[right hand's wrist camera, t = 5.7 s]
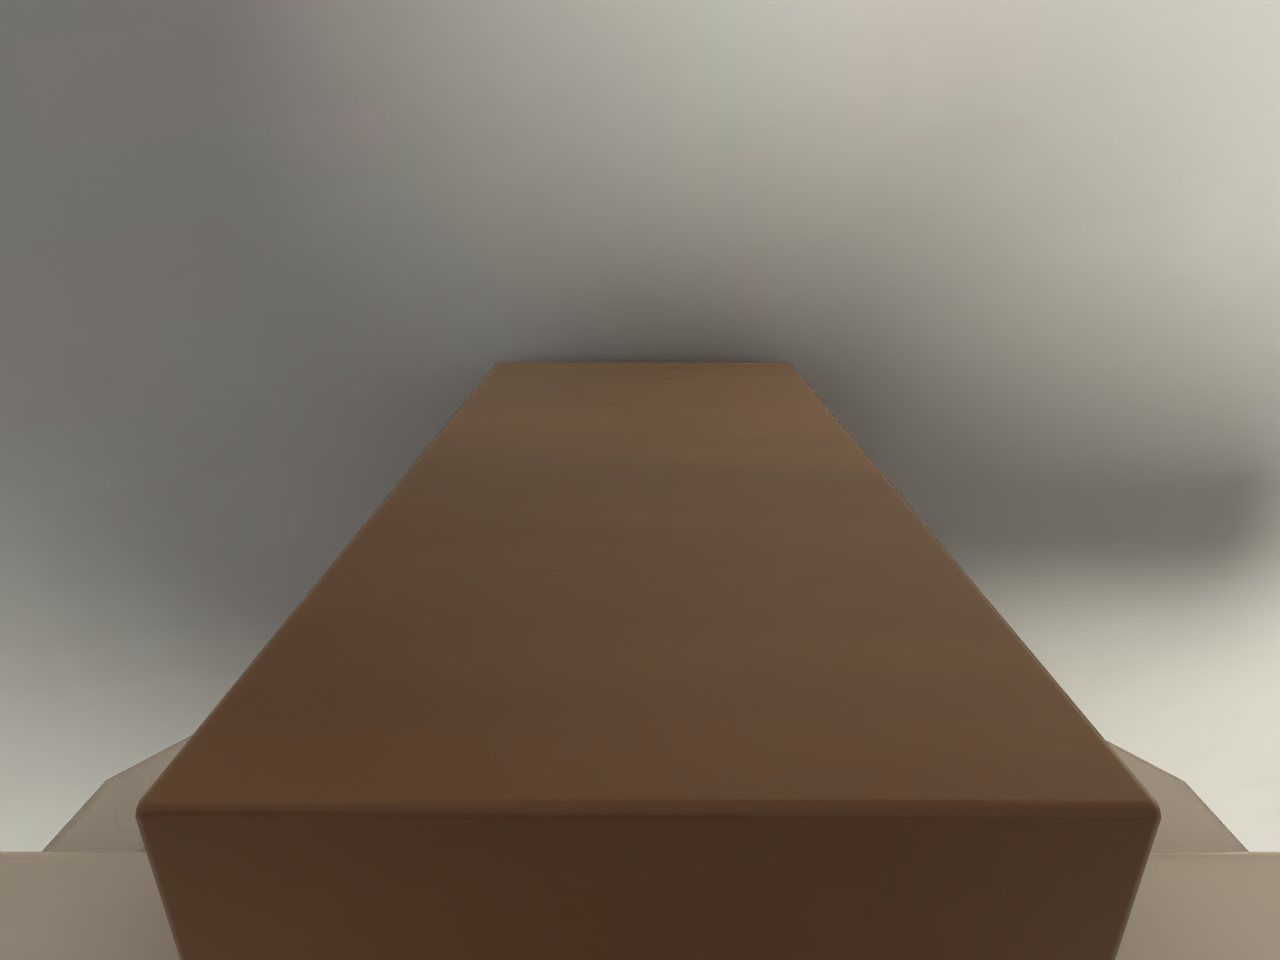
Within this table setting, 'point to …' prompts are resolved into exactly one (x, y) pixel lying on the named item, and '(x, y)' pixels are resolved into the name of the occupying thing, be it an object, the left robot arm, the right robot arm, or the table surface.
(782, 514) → the bar
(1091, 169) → the table surface
